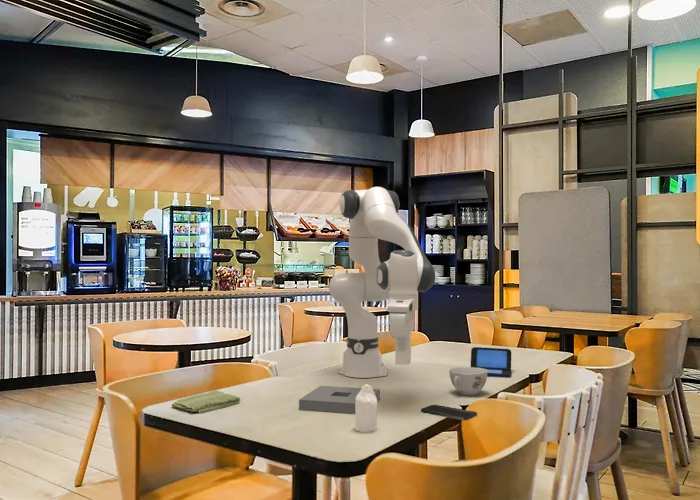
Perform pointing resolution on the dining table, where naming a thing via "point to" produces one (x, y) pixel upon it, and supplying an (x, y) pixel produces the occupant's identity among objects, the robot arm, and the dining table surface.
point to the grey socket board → (332, 399)
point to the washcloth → (206, 402)
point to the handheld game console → (492, 361)
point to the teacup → (468, 379)
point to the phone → (449, 412)
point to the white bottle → (366, 410)
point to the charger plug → (404, 356)
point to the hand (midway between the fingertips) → (403, 349)
